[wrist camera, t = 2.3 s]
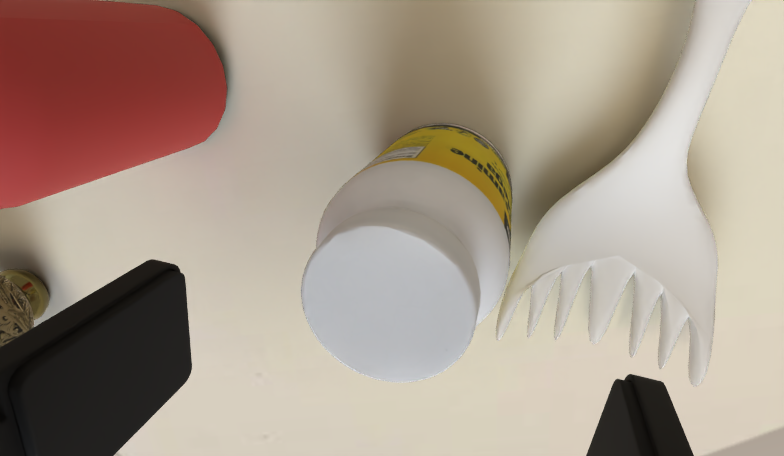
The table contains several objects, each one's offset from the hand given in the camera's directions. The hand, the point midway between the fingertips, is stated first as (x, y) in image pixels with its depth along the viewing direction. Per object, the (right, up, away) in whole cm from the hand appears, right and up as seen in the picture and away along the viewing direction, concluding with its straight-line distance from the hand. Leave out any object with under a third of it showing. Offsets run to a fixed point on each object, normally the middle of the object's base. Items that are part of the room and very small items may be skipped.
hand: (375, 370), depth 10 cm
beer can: (-10, +10, +13) cm, 20 cm away
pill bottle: (+3, +5, +12) cm, 13 cm away
